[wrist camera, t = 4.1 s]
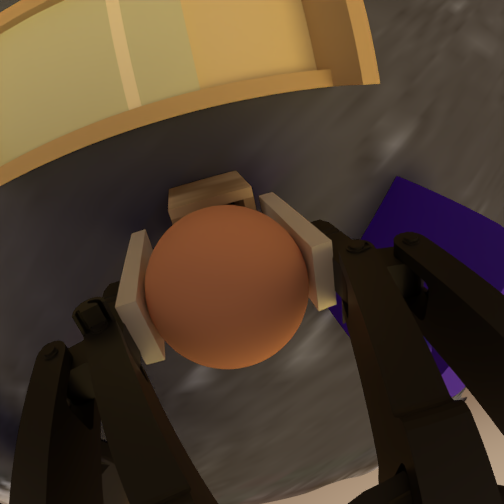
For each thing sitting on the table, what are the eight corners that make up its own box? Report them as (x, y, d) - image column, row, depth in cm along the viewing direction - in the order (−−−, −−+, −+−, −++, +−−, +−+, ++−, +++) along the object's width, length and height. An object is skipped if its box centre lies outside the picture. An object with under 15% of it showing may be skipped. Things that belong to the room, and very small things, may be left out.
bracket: (321, 299, 24) (404, 415, 14) (395, 175, 21) (528, 241, 11) (434, 337, 31) (496, 405, 21) (486, 256, 28) (562, 312, 18)
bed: (0, 185, 15) (-42, 211, 10) (-30, 47, 10) (-74, 41, 6) (333, 85, 17) (380, 83, 13) (300, -51, 12) (335, -84, 8)
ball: (173, 322, 15) (183, 419, 10) (129, 211, 13) (105, 284, 7) (286, 287, 16) (340, 368, 11) (265, 172, 13) (331, 216, 8)
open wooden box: (187, 249, 20) (191, 282, 16) (168, 189, 18) (168, 210, 14) (249, 231, 20) (266, 260, 17) (235, 170, 18) (251, 186, 15)
